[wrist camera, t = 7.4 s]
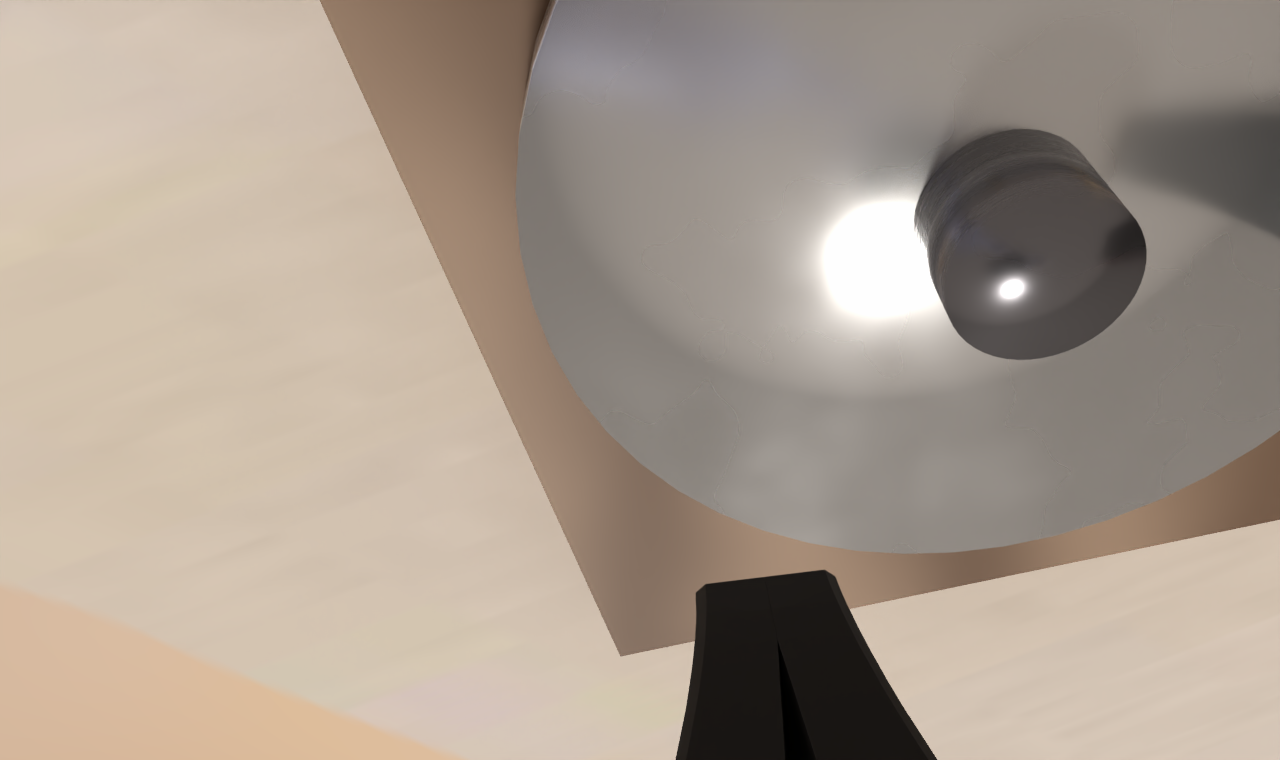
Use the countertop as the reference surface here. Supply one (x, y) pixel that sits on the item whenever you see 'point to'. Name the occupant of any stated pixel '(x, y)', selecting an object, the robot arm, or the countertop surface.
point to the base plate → (558, 419)
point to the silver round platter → (911, 253)
